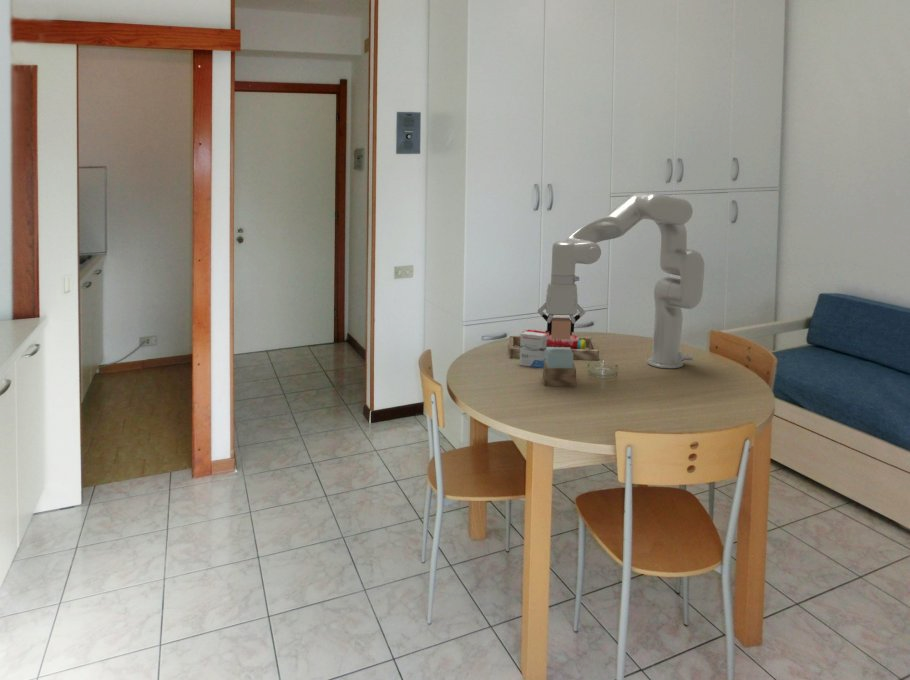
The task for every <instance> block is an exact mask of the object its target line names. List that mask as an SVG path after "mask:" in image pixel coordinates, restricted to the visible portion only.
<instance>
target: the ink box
mask: <svg viewBox="0 0 910 680" xmlns="http://www.w3.org/2000/svg"><path fill="white" fill-rule="evenodd" d="M524 331H525V332H523V331H522V332H523V333H522V332H521V333H520V335H519V336H520V346H519V347H520V358H519V365H520V366H524V367H532V368H541V369H543V368H544V360H546V341H547V334H544V333H536V332H527V331H526V330H524Z"/></svg>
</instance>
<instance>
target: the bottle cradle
mask: <svg viewBox="0 0 910 680" xmlns="http://www.w3.org/2000/svg"><path fill="white" fill-rule="evenodd" d="M520 336H521V335H509V339H508V340H509V342H508V343H509V344H508V345H509V354H508V355H509V359H520V348H519V347H514V346H513V345H520ZM577 337H578V336H577ZM578 338H579V339H580V340H581V339H583V340H585V341H586V347H585V348H589V349H585V350H583V349H571V350H572V352H573V361H574V360H576V361H577V360H578V361H599V355H600V354H599V353H600V351H599V348H598V346H597V343H596V342H595V339H594V338H593V337H582V336H580V337H578Z"/></svg>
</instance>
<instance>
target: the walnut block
mask: <svg viewBox="0 0 910 680" xmlns="http://www.w3.org/2000/svg"><path fill="white" fill-rule="evenodd" d="M542 369H543V372H542V373H543V374H542V375H543V376H542V377H543V383H544V387H576V386H577V385H576V380H577V368H576V365H575V362H574V360H573V368H548V367H547V364H546V362H545V360H544V366H543V367H542Z"/></svg>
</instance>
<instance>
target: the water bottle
mask: <svg viewBox="0 0 910 680" xmlns="http://www.w3.org/2000/svg"><path fill="white" fill-rule="evenodd" d="M525 331H527V332H536V333H544V334H547V341H546V347H570V349H583V350H586V348H587V347H586V341H585V340H583V339H581V340H580V339H579V338H578V336H577V335H576V334H572V335H570V340H568V339H551V335H549V332H547V329H546V330H544V331H541V330H536V329H525V330H524V331H522V332H521V334H522V333H523V332H525Z"/></svg>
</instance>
